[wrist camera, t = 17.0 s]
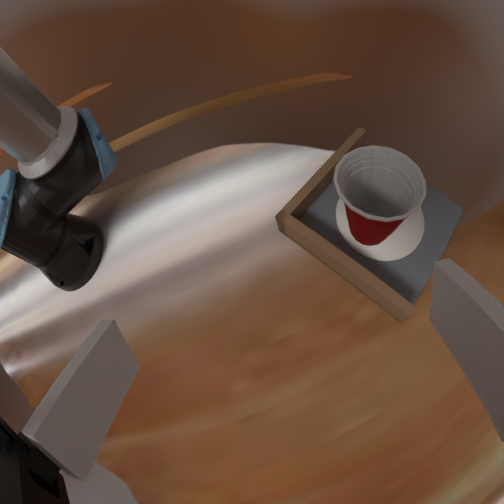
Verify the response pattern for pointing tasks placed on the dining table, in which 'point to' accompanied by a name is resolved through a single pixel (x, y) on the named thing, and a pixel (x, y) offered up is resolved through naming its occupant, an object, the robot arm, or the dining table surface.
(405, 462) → the dining table surface
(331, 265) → the tray
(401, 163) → the plastic cup
